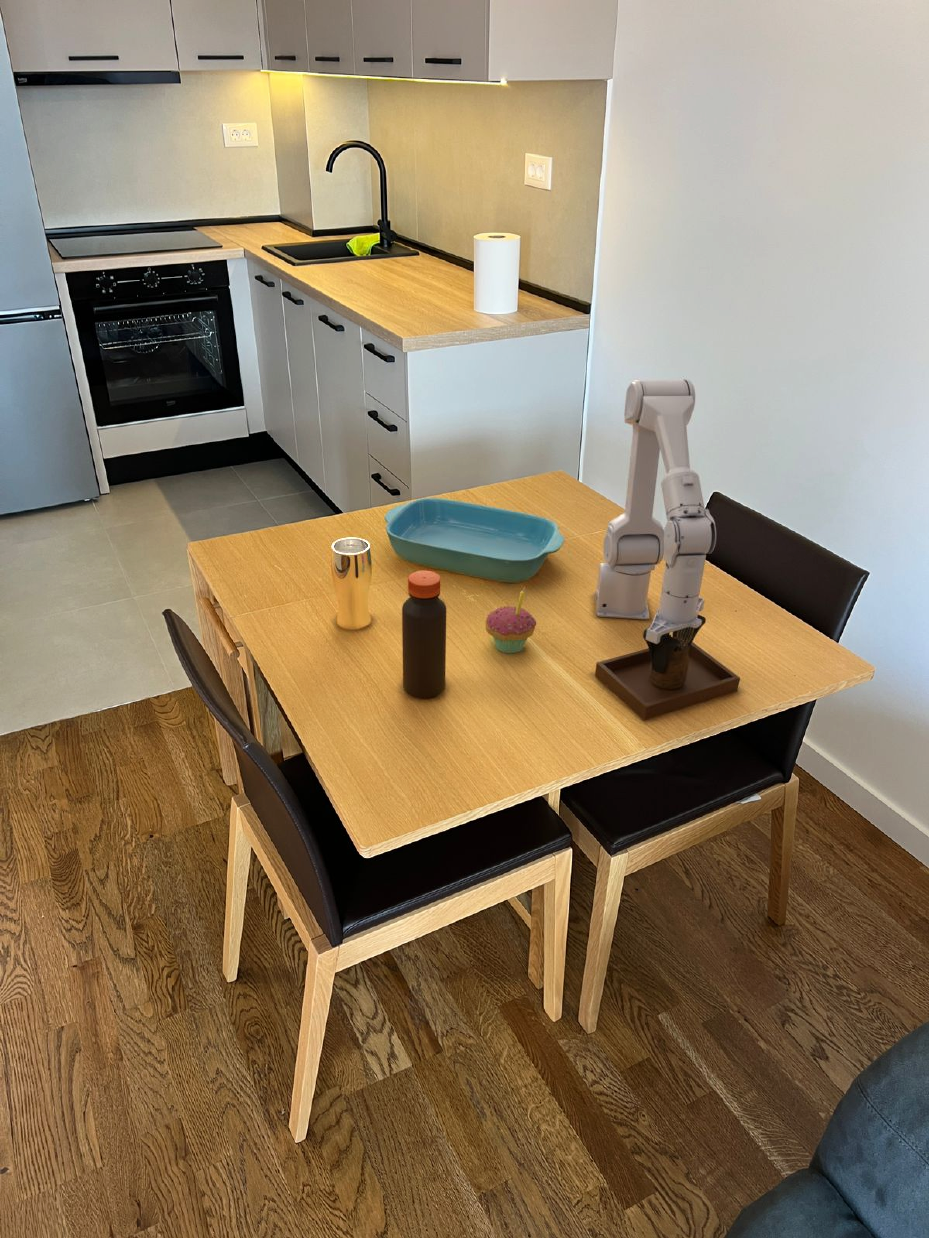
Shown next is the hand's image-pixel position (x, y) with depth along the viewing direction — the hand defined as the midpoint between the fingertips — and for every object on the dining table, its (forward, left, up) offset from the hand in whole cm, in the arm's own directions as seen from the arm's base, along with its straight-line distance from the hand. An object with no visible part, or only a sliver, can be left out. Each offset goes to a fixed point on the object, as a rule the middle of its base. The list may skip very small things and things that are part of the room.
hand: (668, 662), depth 151 cm
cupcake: (-26, +8, -4) cm, 28 cm away
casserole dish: (-35, +41, -4) cm, 54 cm away
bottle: (-39, -6, -4) cm, 40 cm away
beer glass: (-54, +13, -4) cm, 56 cm away
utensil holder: (0, 0, -4) cm, 4 cm away
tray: (0, 0, -4) cm, 4 cm away
